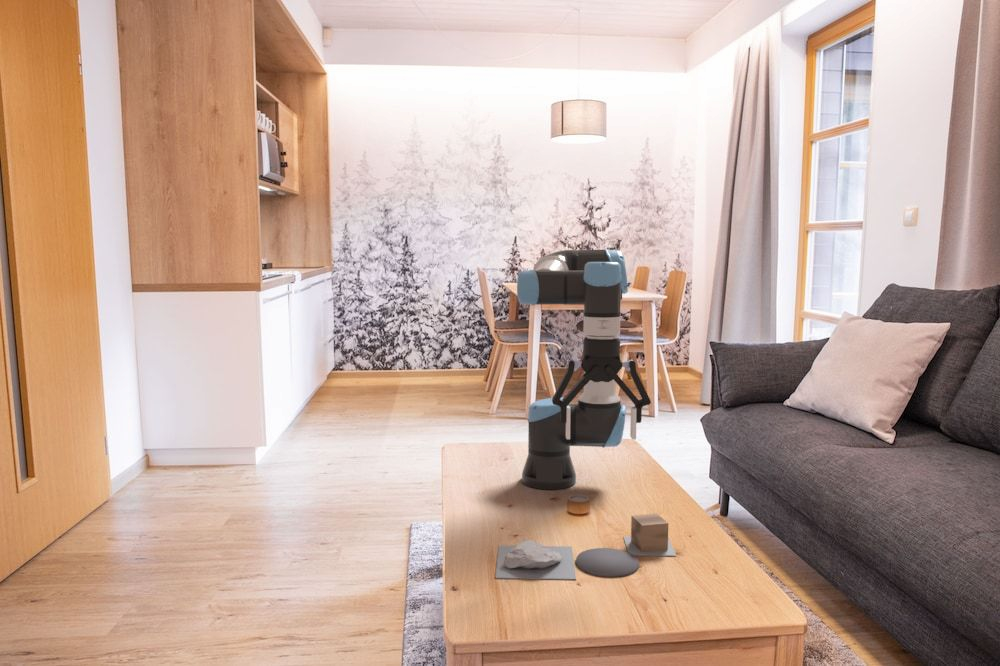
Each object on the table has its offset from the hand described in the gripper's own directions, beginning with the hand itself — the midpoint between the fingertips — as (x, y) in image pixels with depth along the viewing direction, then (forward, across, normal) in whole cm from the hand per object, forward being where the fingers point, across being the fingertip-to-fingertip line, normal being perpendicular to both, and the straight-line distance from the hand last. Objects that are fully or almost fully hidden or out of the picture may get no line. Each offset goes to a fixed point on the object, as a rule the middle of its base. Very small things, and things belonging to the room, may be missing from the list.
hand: (600, 438), depth 154 cm
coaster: (+26, +1, -3) cm, 26 cm away
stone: (+26, -14, -3) cm, 29 cm away
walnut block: (+26, +12, +6) cm, 29 cm away
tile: (+26, +12, +6) cm, 29 cm away
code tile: (+26, -14, -3) cm, 29 cm away
